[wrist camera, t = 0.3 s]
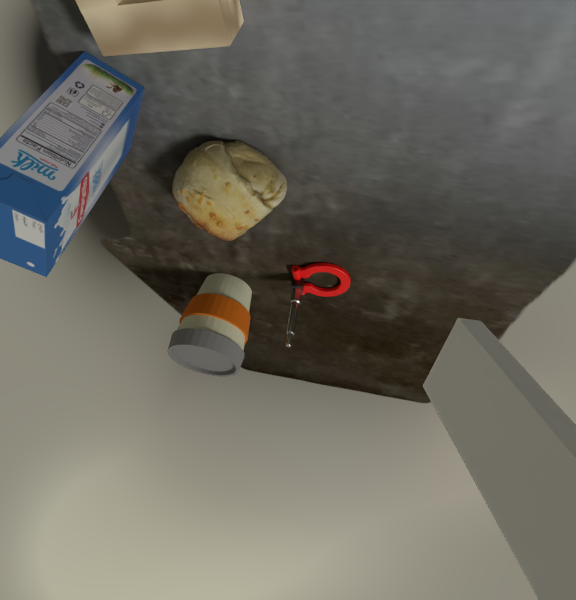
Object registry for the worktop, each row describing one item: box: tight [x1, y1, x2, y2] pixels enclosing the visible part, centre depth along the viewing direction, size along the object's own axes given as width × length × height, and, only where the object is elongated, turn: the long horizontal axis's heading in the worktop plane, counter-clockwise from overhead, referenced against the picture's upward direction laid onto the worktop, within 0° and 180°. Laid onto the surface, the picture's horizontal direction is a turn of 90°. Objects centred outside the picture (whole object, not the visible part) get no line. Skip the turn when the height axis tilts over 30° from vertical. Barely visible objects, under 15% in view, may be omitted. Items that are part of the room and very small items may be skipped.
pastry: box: [172, 140, 287, 241], centre depth 47 cm, size 14×12×8 cm
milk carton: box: [0, 51, 144, 277], centre depth 38 cm, size 10×6×20 cm, turn 150°
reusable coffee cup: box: [168, 273, 252, 376], centre depth 67 cm, size 12×13×15 cm
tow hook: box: [286, 263, 351, 347], centre depth 60 cm, size 8×13×9 cm
